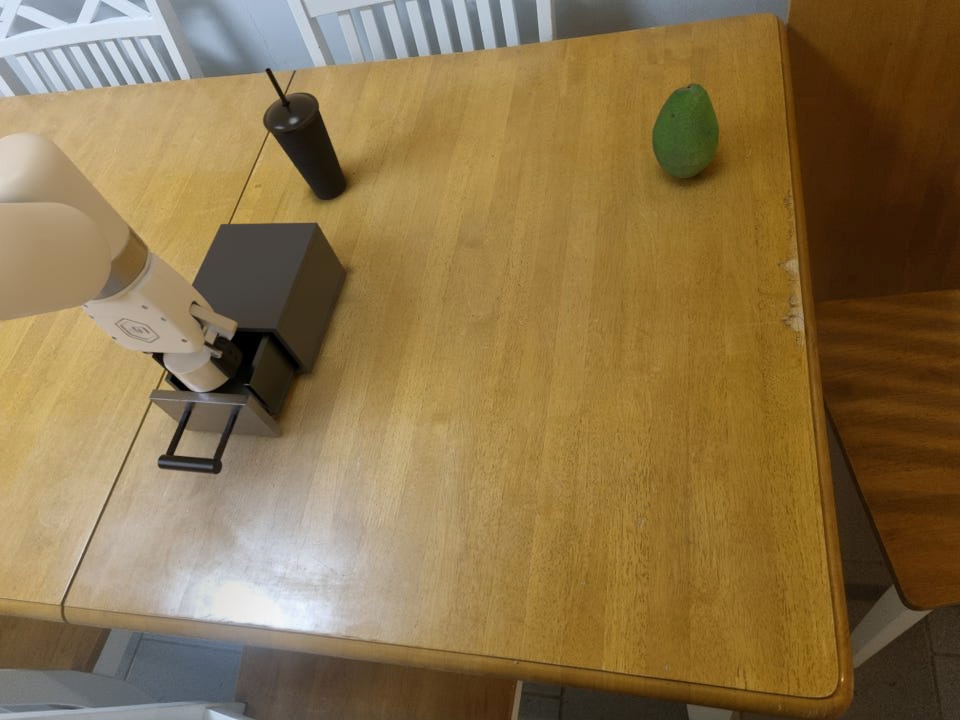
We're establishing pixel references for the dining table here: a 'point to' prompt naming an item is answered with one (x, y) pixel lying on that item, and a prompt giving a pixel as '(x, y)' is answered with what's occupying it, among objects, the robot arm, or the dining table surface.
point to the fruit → (686, 132)
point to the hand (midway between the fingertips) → (207, 364)
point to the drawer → (230, 401)
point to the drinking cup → (305, 140)
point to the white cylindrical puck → (195, 368)
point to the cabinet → (274, 283)
